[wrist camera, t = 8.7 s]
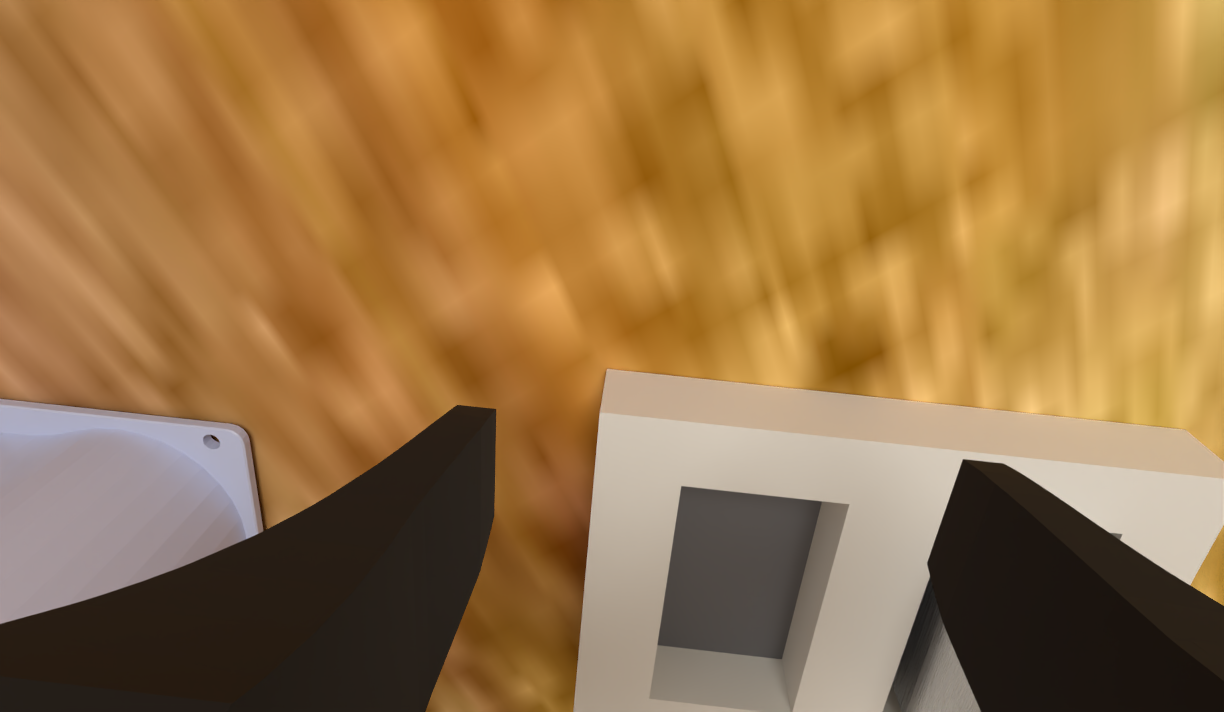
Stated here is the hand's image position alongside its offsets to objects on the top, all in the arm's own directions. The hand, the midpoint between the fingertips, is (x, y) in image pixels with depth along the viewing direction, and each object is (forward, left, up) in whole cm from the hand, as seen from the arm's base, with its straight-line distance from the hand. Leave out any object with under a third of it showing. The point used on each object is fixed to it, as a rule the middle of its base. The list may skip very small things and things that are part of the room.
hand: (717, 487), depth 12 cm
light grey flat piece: (+6, -9, -9) cm, 14 cm away
